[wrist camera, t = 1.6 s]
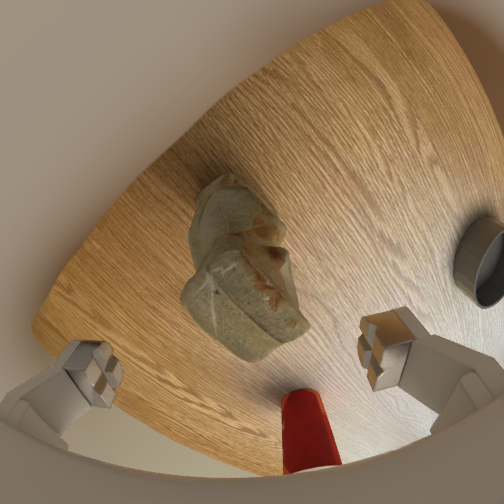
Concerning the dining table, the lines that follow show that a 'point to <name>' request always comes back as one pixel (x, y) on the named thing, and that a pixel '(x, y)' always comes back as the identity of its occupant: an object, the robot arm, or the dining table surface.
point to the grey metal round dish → (481, 262)
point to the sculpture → (241, 271)
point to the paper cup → (306, 434)
